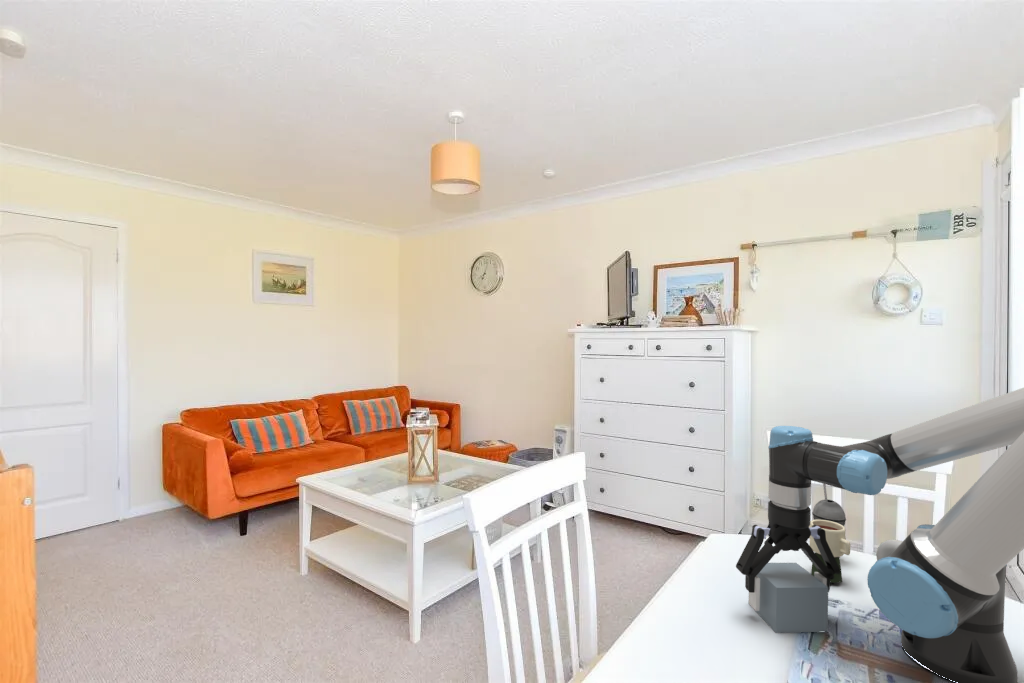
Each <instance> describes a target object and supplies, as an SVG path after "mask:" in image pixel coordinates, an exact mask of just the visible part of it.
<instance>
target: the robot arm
mask: <svg viewBox="0 0 1024 683" xmlns="http://www.w3.org/2000/svg"><path fill="white" fill-rule="evenodd" d="M1008 446H1009V447H1008ZM1005 447H1008V448H1007V449H1006V450H1005V451H1003V453H1002V454H1001V455H1000V456H999V457H998V458H997V459H996V460H995V461H994V463H993V464H991V466H990V467H989V468H988V469H987V470H986V471H985V472H984V473H983V474H982V475H981V476H980V477H979V478H978V479H977V480H976V482H974V484H972V486H971V487H970V488H969V489H968V490H967V491H966V492H965V493H964V494H963V495H962V496H961V497H960V499H958V500H957V501H956V502H955V504H953V506H952V507H951V508H950V509H949V510H948V511H947V512H946V513H945V514H944V515H943V516H942V517H941V518H940V520H938V522H937V523H935V524H919V525H918V526H917V527H916V528H915V529H913V530H912V531H911V532H910V533H909V534H908V536H907V537H905V539H904V540H902V541H903V542H902V543H901V544H900V545H899V546H898V547H897V548H896V549H895V551H894V552H893V553H892V554H890V555H889V556H888V557H885V558H881V559H880V560H878V561H877V560H876V561H875V563H874V564H873V565H872V566H871V567H870V568H869V570H868V574H867V586H868V589H869V592H870V596H871V598H872V600H873V602H874V604H875V606H877V608H878V609H879V611H880V612H881V613H882V614H883V615H884V616H885V617H886V619H888V620H889V621H890V622H891V623H892V624H894V625H895V626H896V627H898V628H899V629H901V634H900V635H901V636H900V638H901V639H900V644H901V643H902V646H903V648H904V649H905V651H906V652H907V653H908V654H909V655H910V656H912V657H913V658H914V659H916V660H917V661H918V662H920V663H921V664H922V665H924V666H926V667H927V668H929V669H930V670H932V671H933V672H935V673H937V674H938V675H940V676H943V677H945V678H947V679H950V680H952V681H955V682H958V683H1018V668H1017V664H1016V662H1015V659H1014V657H1013V654H1012V652H1011V650H1010V646H1009V643H1008V641H1007V638H1006V636H1005V632H1004V631H1005V630H1004V629H1005V628H1004V625H1005V622H1004V621H1005V602H1006V601H1005V599H1006V598H1005V596H1006V593H1005V592H1006V567H1008V564H1009V563H1010V562H1011V561H1012V560H1013V559H1014V558H1015V557H1016V556H1018V555H1019V553H1021V552H1022V551H1023V550H1024V387H1022V388H1019V389H1015V390H1013V391H1010V392H1006V393H1004V394H1001V395H999V396H995V397H993V398H990V399H987V400H985V401H984V400H983V401H981V402H978V403H975V404H972V405H970V406H967V407H963V408H960V409H957V410H955V411H952V412H950V413H949V412H948V413H947V414H944V415H941V416H937V417H934V418H932V419H928V420H926V421H924V422H920V423H918V424H914V425H912V426H908V427H906V428H903V429H900V430H897V431H895V432H892V433H889V434H886V435H882V436H879V437H876V438H874V439H871V440H867V441H864V442H858V443H852V444H849V445H848V444H847V445H843V446H842V445H841V446H839V445H834V444H830V443H829V444H828V443H827V444H826V443H823V442H818V441H814V437H813V432H812V431H811V430H810V429H809V428H804V427H800V426H794V425H793V426H792V425H777V426H774V427H772V428H771V429H770V434H769V445H768V460H769V461H768V464H769V468H768V470H769V471H768V474H769V475H768V500H769V501H768V502H767V520H768V524H767V527H762V526H759V525H757V524H753V525H752V528H751V534H750V535H751V536H750V537H749V539H748V540H747V542H746V545H745V547H744V548H743V550H742V552H741V553H740V554H741V555H740V557H739V559H738V560H737V562H736V564H735V567H736V569H737V570H738V572H740V573H741V574H742V575H744V576H745V578H744V580H745V582H744V585H745V589H746V590H747V591H748V604H749V606H750V605H751V606H752V607H753V608H754V609H753V608H752V607H751V608H752V609H753V610H754V611H755V612H756V611H759V607H760V578H759V577H758V576H757V575H758V574H759V572H760V571H761V570H762V569H763V568H764V567H765V565H766V564H767V563H770V561H771V559H772V558H774V556H775V555H776V554H777V555H778V554H779V553H780V552H781V551H782V552H788V551H794V552H798V551H799V550H801V551H802V553H803V554H805V556H806V557H807V558H808V559H809V561H810V562H811V564H812V563H813V564H814V566H815V567H816V568H817V569H818V571H820V573H819V572H814V577H815V578H817V579H818V580H819V581H821V582H822V583H823V584H825V585H826V586H827V587H828V593H830V591H831V590H830V589H831V582H830V579H831V580H832V579H834V575H833V574H840V572H841V573H842V570H841V571H840V568H839V566H838V564H837V562H836V560H835V558H834V556H833V554H832V551H831V549H830V547H829V545H828V543H827V541H826V533H825V530H824V529H822V528H820V527H819V526H817V525H813V526H812V527H810V528H809V526H810V522H811V521H812V519H811V518H812V517H811V514H812V512H811V510H812V508H810V506H811V505H812V482H814V483H815V482H816V483H819V484H822V485H823V484H826V486H831V487H834V488H837V489H841V490H845V491H848V492H851V493H853V494H863V495H868V496H876V495H878V494H880V492H882V489H884V488H885V486H886V484H887V481H888V480H890V479H893V478H899V477H901V476H904V475H906V474H911V473H913V472H917V471H920V470H924V469H928V468H931V467H934V466H938V465H942V464H946V463H949V462H953V461H954V462H955V461H956V460H959V459H963V458H967V457H972V456H974V455H979V454H982V453H986V452H989V451H993V450H997V449H1000V448H1005ZM767 536H768V538H767ZM810 536H812V537H813V538H814V541H815V543H816V545H817V547H818V549H819V551H820V553H821V555H822V558H823V560H824V562H825V564H826V566H825V565H824V563H823V562H822V561H821V560H820V559H819V557H818V556H817V555H816V554H815V552H814V551H813V549H812V548H811V547H810V545H809V544H810V543H808V542H807V541H808V540H810V538H809V537H810ZM764 540H765V541H764ZM763 543H764V544H763ZM773 544H774V545H773ZM762 545H763V546H762ZM902 646H901V647H902ZM940 676H939V677H940Z"/></svg>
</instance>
